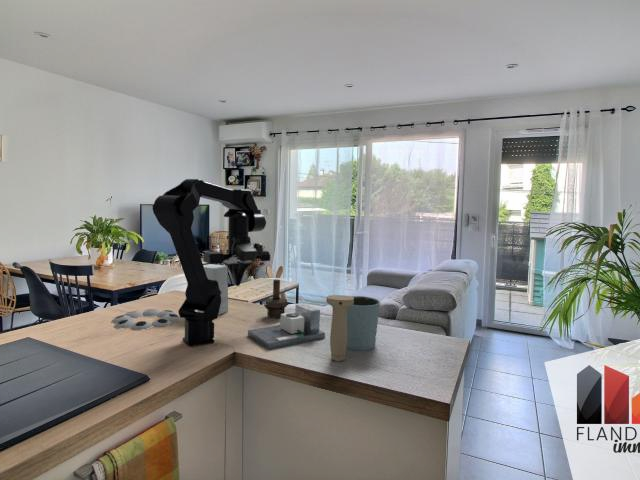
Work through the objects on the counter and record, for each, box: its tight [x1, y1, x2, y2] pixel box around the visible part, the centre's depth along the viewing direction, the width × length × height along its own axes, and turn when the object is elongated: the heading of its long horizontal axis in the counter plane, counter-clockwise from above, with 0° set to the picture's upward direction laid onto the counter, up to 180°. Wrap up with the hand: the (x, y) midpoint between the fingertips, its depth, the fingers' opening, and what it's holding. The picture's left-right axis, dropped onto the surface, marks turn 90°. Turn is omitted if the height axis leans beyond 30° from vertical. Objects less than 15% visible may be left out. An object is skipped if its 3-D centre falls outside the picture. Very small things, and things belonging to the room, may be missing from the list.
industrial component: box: [263, 278, 289, 319], centre depth 127 cm, size 9×7×12 cm
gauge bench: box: [247, 303, 326, 350], centre depth 108 cm, size 18×12×8 cm
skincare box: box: [197, 263, 229, 316], centre depth 129 cm, size 8×7×16 cm
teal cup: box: [346, 295, 381, 351], centre depth 103 cm, size 10×10×12 cm
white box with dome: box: [279, 311, 304, 334], centre depth 108 cm, size 6×8×4 cm, turn 36°
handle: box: [326, 294, 354, 363], centre depth 93 cm, size 5×6×15 cm
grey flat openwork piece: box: [111, 308, 182, 331], centre depth 119 cm, size 20×20×2 cm
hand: (237, 285), depth 115 cm, fingers closed
